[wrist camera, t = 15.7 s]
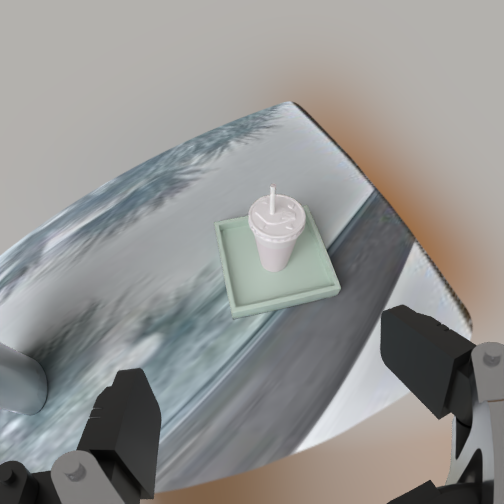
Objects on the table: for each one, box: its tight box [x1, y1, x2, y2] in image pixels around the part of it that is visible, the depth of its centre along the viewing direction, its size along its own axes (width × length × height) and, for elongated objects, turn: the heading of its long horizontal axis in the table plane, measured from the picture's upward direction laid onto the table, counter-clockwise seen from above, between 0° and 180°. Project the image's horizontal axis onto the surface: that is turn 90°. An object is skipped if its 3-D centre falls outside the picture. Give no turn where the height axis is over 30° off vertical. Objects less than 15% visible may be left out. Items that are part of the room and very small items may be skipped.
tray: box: [214, 205, 341, 319], centre depth 41 cm, size 14×14×2 cm
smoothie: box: [248, 184, 306, 272], centre depth 35 cm, size 6×6×14 cm
